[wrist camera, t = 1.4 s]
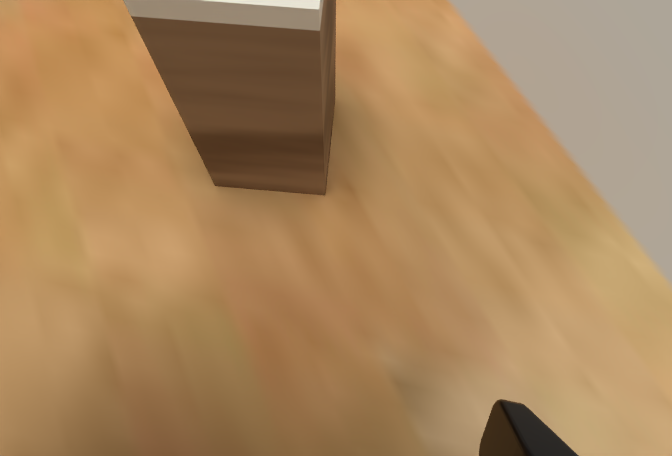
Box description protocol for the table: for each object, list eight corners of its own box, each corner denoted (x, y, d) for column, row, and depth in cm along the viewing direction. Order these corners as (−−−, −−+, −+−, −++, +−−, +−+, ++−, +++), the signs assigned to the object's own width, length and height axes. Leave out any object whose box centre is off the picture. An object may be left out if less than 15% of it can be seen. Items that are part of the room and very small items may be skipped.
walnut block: (325, 195, 25) (319, 9, 14) (215, 185, 25) (120, -6, 14) (334, 99, 27) (336, -137, 16) (231, 90, 27) (158, -150, 16)
